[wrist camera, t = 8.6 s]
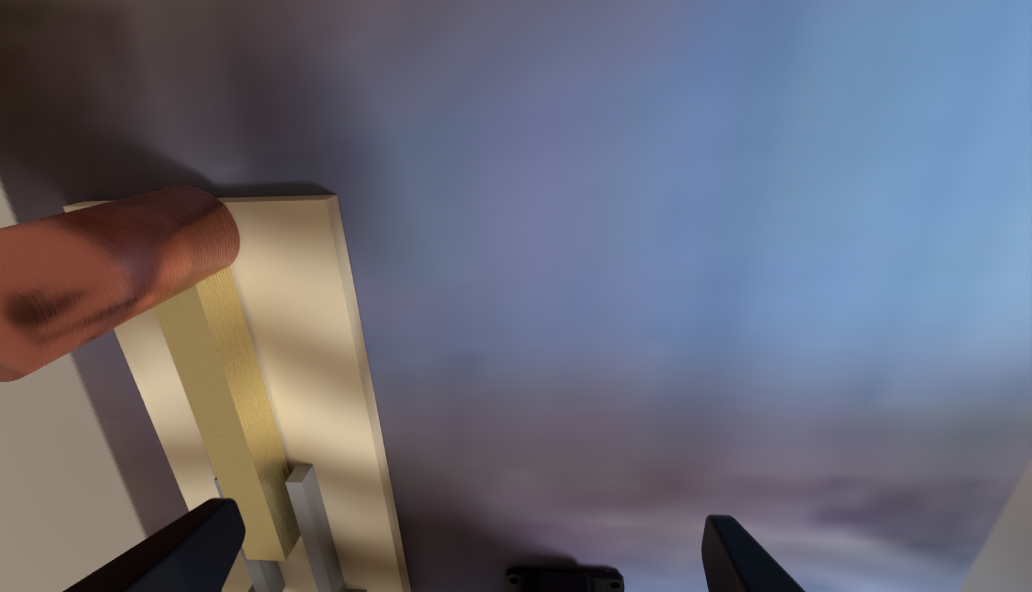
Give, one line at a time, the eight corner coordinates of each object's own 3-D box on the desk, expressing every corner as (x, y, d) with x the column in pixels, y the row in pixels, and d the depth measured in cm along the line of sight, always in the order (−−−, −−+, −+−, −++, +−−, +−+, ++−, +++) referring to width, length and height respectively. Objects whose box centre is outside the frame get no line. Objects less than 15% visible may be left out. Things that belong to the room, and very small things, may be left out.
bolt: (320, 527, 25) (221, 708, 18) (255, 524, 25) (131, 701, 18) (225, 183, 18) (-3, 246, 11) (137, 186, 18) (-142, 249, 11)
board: (418, 630, 30) (378, 784, 23) (250, 620, 31) (166, 766, 24) (336, 194, 19) (220, 249, 12) (85, 201, 20) (-146, 254, 13)
